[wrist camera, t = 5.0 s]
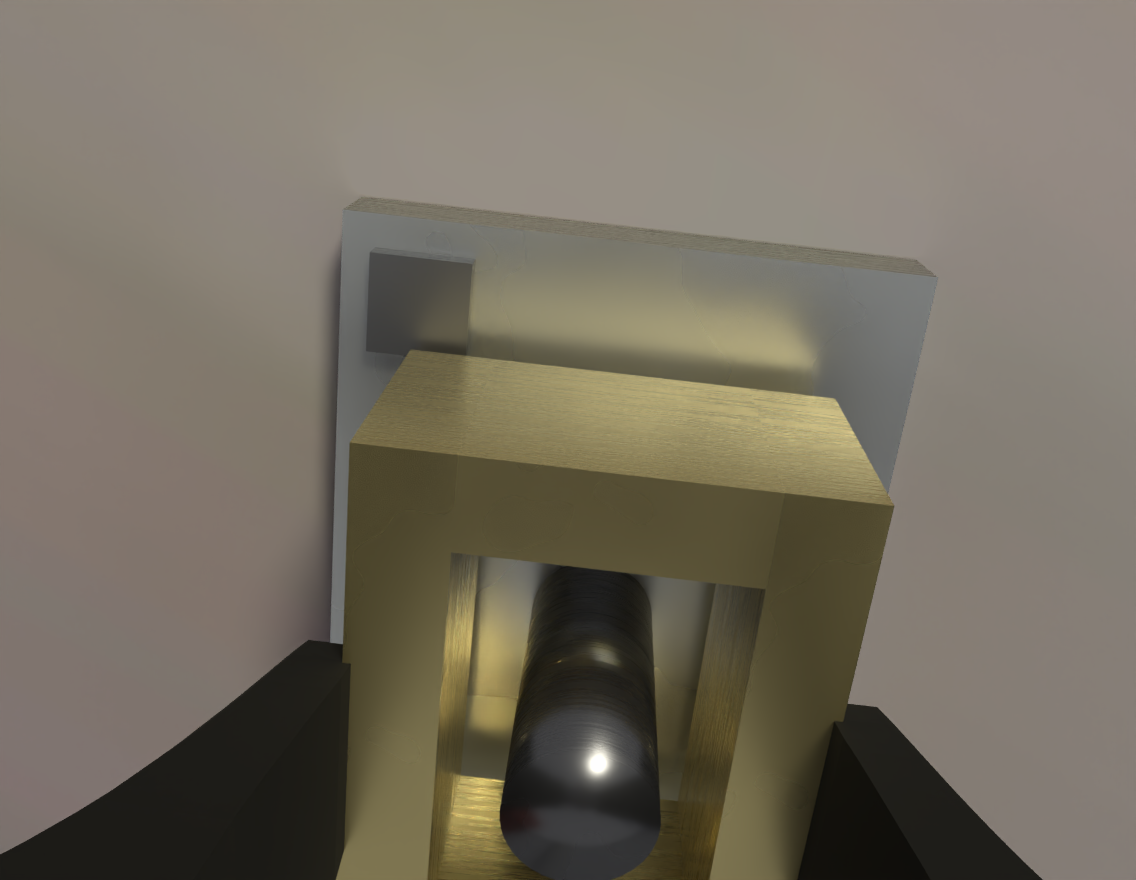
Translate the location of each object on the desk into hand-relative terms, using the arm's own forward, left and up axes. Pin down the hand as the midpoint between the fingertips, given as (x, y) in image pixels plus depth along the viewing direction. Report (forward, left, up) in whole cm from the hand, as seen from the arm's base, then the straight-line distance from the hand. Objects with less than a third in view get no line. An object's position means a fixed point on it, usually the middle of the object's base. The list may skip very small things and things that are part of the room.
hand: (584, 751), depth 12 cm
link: (0, 0, -2) cm, 2 cm away
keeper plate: (0, 0, -4) cm, 4 cm away
